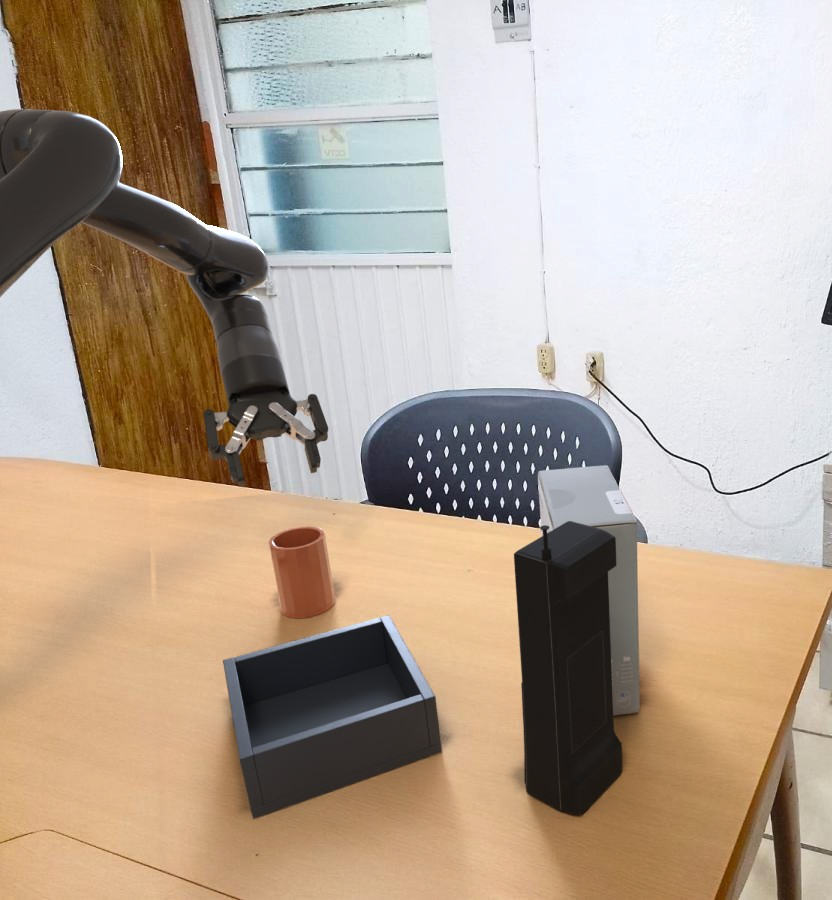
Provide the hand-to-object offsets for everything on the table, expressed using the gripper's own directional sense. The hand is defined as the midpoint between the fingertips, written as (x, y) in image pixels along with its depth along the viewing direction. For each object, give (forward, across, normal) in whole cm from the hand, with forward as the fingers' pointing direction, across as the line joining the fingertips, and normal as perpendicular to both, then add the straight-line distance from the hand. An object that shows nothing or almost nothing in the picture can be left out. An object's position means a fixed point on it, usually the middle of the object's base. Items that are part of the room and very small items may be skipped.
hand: (278, 476), depth 103 cm
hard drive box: (+37, +23, -17) cm, 47 cm away
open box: (+34, -2, -15) cm, 37 cm away
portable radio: (+46, +15, -26) cm, 56 cm away
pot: (+16, 0, +4) cm, 16 cm away
